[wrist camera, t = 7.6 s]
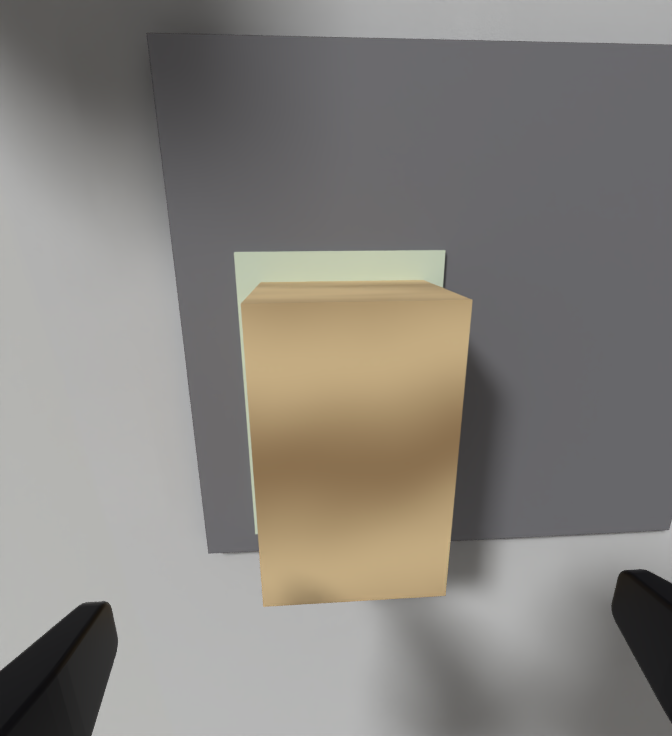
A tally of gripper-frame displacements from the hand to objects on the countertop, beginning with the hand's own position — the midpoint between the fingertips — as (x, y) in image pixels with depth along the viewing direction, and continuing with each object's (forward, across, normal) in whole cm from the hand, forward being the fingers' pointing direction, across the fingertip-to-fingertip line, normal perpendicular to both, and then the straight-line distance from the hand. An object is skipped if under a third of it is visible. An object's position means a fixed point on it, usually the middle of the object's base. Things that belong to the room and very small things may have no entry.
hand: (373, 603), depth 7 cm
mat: (+9, -5, -3) cm, 11 cm away
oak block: (+9, 0, 0) cm, 9 cm away
